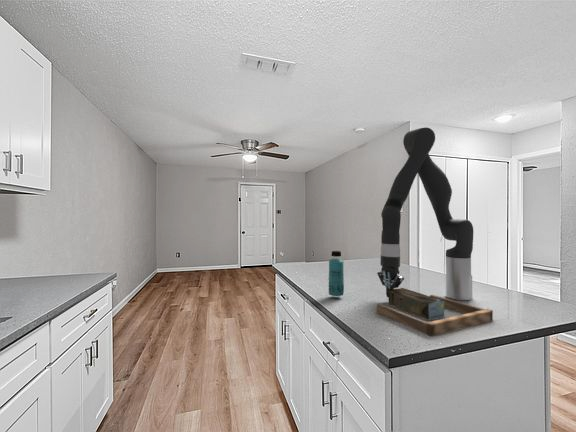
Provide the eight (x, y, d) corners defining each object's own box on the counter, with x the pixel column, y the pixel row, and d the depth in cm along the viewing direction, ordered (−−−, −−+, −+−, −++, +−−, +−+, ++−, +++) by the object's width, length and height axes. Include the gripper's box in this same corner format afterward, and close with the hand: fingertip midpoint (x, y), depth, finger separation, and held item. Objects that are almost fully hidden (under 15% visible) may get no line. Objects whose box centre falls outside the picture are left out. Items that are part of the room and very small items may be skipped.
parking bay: (432, 302, 113) (432, 293, 113) (492, 320, 93) (492, 310, 93) (376, 312, 101) (376, 302, 101) (431, 336, 81) (431, 324, 81)
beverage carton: (428, 321, 93) (428, 301, 93) (387, 305, 111) (386, 288, 111) (445, 318, 96) (445, 298, 96) (402, 302, 114) (402, 286, 114)
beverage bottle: (326, 295, 123) (326, 250, 123) (341, 295, 124) (341, 249, 124) (330, 300, 117) (330, 252, 117) (346, 299, 117) (345, 251, 117)
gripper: (410, 256, 110) (409, 300, 110) (385, 252, 122) (385, 292, 122) (395, 257, 107) (395, 303, 107) (372, 253, 119) (371, 294, 119)
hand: (389, 297), depth 114 cm, fingers closed
